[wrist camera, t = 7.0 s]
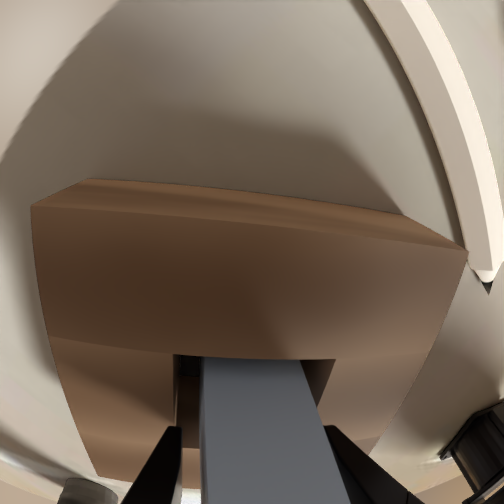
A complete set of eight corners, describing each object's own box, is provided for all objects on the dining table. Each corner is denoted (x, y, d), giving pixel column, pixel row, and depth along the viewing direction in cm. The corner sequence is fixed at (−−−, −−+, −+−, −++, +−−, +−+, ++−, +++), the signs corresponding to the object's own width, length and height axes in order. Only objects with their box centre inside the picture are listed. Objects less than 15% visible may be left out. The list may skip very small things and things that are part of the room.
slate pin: (266, 364, 14) (321, 582, 4) (199, 360, 13) (207, 594, 4) (280, 308, 13) (370, 562, 3) (205, 302, 12) (216, 587, 3)
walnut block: (330, 422, 16) (351, 477, 12) (112, 415, 14) (98, 476, 10) (405, 215, 12) (469, 251, 8) (88, 178, 10) (30, 205, 6)
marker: (469, 283, 15) (353, -10, 9) (500, 273, 14) (396, -26, 8) (477, 317, 13) (352, -23, 7) (512, 306, 12) (404, -41, 6)
